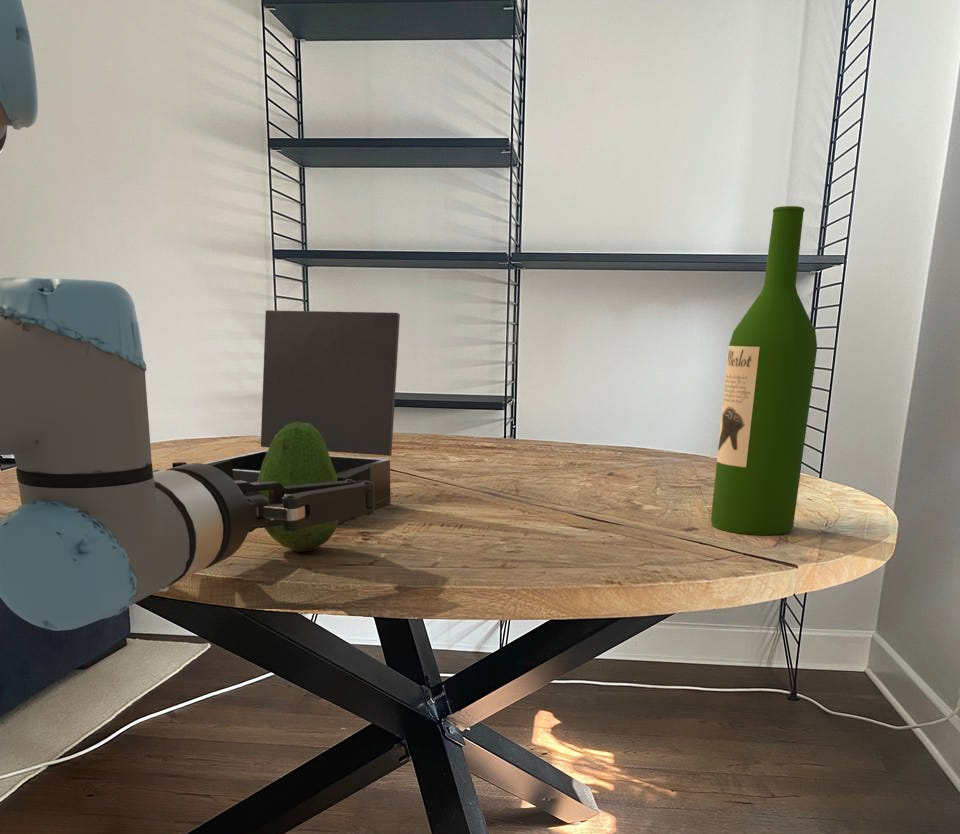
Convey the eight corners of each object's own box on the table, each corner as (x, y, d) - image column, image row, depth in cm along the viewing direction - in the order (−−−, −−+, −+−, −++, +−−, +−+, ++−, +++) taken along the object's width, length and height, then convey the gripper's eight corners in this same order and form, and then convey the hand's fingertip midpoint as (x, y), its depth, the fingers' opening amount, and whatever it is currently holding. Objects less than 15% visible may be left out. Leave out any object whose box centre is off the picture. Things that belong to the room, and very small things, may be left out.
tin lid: (397, 312, 106) (400, 313, 107) (265, 310, 111) (268, 311, 112) (388, 455, 109) (391, 455, 109) (260, 446, 114) (263, 447, 115)
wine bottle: (693, 522, 104) (724, 208, 93) (752, 516, 108) (788, 215, 97) (748, 538, 96) (789, 199, 86) (810, 531, 100) (856, 206, 90)
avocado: (348, 541, 91) (344, 418, 87) (335, 560, 83) (331, 426, 79) (268, 539, 91) (261, 416, 87) (248, 558, 83) (240, 425, 79)
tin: (330, 527, 97) (328, 477, 95) (190, 514, 102) (186, 466, 100) (390, 503, 111) (390, 459, 109) (264, 492, 116) (262, 450, 114)
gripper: (31, 560, 68) (178, 509, 88) (346, 586, 64) (426, 526, 83) (17, 460, 66) (171, 431, 86) (343, 479, 61) (426, 443, 81)
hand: (297, 478), depth 85 cm, fingers open, 13 cm apart
